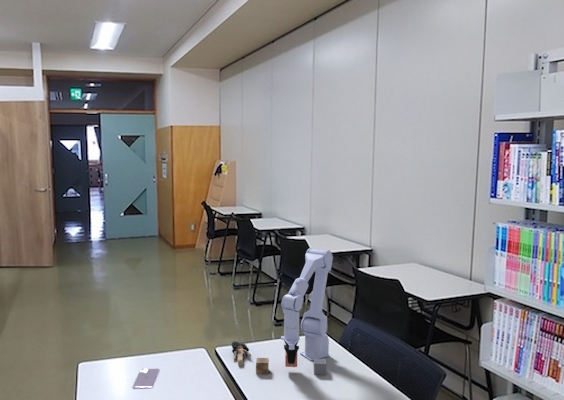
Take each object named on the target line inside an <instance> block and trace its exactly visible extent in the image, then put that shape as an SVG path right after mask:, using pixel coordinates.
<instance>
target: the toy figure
mask: <svg viewBox="0 0 564 400" xmlns="http://www.w3.org/2000/svg"><path fill="white" fill-rule="evenodd" d="M247 346H248V345H247V344H245V343H241V342H240V343H239V342H238V341H233V342H231V348H232V350H231V351H232V352H231V353H232V354H233V355H234V357H233V361H236V360H237V365H238V367H240V366H244V359H246V358H247V357H252V353H251V352H250V353H249V351H250V349H249V347H247Z"/></svg>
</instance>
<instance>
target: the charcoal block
mask: <svg viewBox="0 0 564 400" xmlns="http://www.w3.org/2000/svg"><path fill="white" fill-rule="evenodd" d="M326 360H327V359H326V358H320V359H314V360H313V375H314V376H327V361H326Z"/></svg>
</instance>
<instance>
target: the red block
mask: <svg viewBox="0 0 564 400" xmlns="http://www.w3.org/2000/svg"><path fill="white" fill-rule="evenodd" d="M284 351H285V350H284ZM284 357H285V358H284V359H285V362H284V364H285V366H284V367H285V368H298V353H297V354H296V358H295V362H294V364H289V363H288V358H287V353H286V351H285V355H284Z"/></svg>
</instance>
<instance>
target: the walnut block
mask: <svg viewBox="0 0 564 400" xmlns="http://www.w3.org/2000/svg"><path fill="white" fill-rule="evenodd" d="M269 361H270V359H269V357H257V358H256V361H255V374H256V375H269V364H270V363H269Z"/></svg>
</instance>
